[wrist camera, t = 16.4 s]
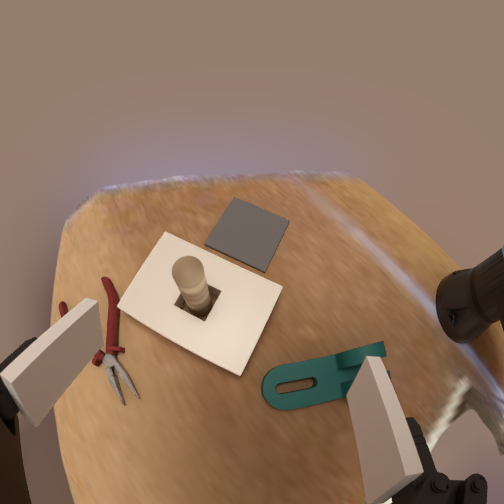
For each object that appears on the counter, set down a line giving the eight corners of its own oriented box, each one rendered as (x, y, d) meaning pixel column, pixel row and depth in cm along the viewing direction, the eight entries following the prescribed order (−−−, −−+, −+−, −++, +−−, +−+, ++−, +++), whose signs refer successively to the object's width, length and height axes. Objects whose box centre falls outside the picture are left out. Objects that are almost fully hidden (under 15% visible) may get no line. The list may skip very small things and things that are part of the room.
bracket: (367, 347, 40) (391, 338, 33) (374, 385, 37) (400, 383, 30) (258, 368, 38) (264, 365, 31) (264, 412, 35) (272, 418, 28)
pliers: (106, 415, 32) (99, 416, 30) (61, 307, 39) (54, 302, 37) (165, 386, 36) (161, 386, 33) (112, 277, 43) (106, 271, 40)
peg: (216, 301, 42) (209, 264, 29) (205, 321, 40) (193, 291, 28) (196, 291, 42) (182, 250, 30) (185, 310, 41) (165, 277, 28)
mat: (289, 222, 50) (289, 220, 49) (264, 272, 45) (264, 271, 44) (234, 198, 51) (234, 197, 51) (204, 245, 46) (204, 243, 46)
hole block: (278, 295, 43) (282, 286, 40) (239, 376, 37) (240, 375, 33) (169, 243, 46) (165, 231, 42) (125, 313, 40) (116, 306, 36)
